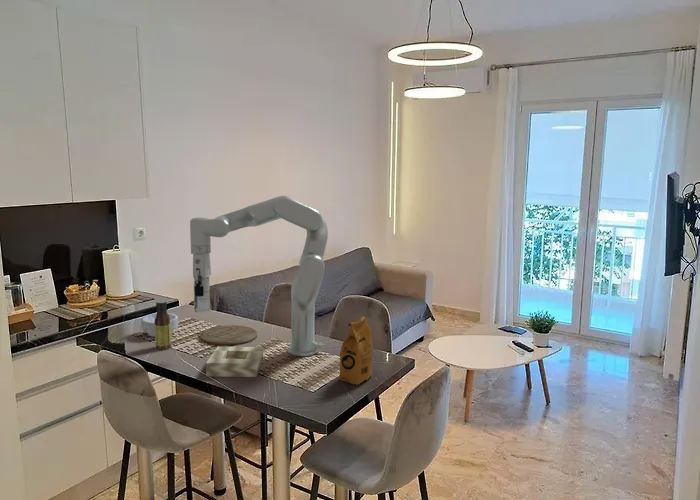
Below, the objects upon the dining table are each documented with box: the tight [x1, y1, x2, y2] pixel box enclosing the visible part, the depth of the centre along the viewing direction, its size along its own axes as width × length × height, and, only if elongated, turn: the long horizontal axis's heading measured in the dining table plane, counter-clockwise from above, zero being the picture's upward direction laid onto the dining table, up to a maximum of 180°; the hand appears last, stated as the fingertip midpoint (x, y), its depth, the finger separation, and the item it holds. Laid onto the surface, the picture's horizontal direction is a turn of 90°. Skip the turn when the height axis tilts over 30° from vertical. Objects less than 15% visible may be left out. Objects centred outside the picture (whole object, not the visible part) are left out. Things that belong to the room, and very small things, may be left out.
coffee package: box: [339, 316, 374, 386], centre depth 188 cm, size 10×12×22 cm
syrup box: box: [193, 275, 211, 313], centre depth 206 cm, size 6×6×14 cm
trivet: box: [199, 325, 258, 347], centre depth 233 cm, size 25×25×2 cm
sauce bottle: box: [154, 300, 172, 350], centre depth 215 cm, size 6×6×20 cm
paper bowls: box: [141, 312, 179, 338], centre depth 234 cm, size 15×15×8 cm
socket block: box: [205, 346, 264, 378], centre depth 197 cm, size 18×18×5 cm
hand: (201, 293), depth 206 cm, fingers closed on syrup box, 7 cm apart
